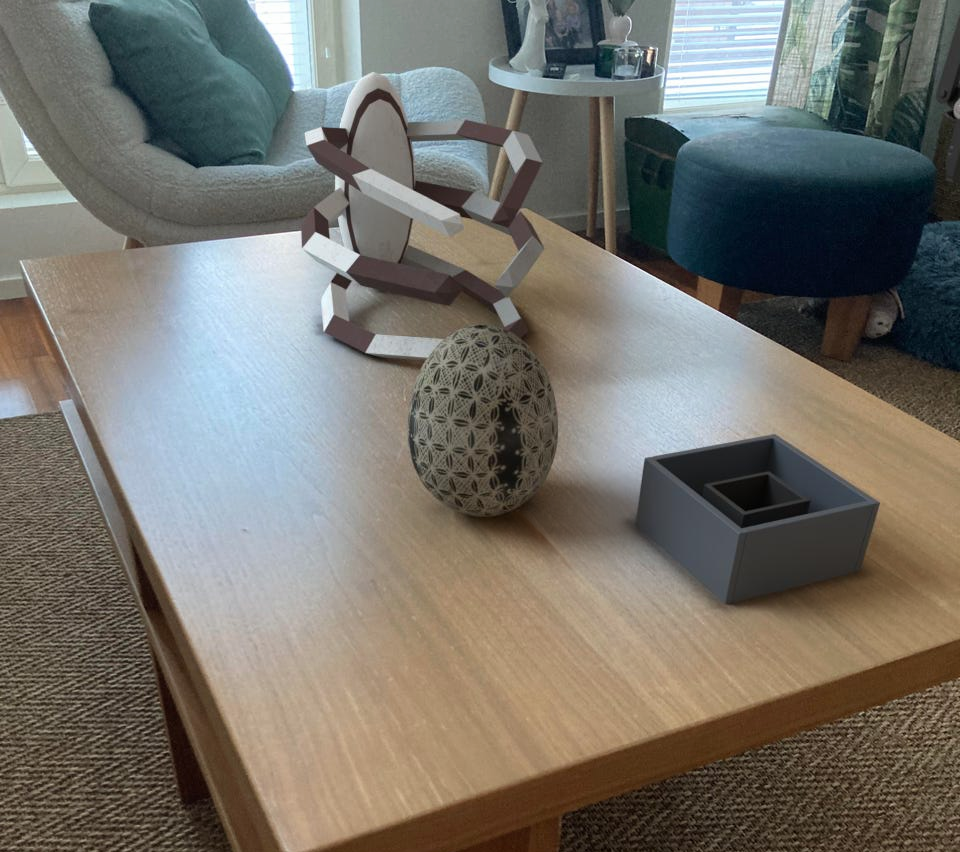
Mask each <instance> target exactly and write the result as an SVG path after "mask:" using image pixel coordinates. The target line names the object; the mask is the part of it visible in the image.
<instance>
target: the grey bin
mask: <svg viewBox="0 0 960 852" xmlns="http://www.w3.org/2000/svg"><path fill="white" fill-rule="evenodd" d="M767 471H769V472H771V473H772V474H774V475H775V476H777V477H778V478H779V479H781V480H782V481H784V482H785V483H787V484H788V485H790V486H791V487H792V488H794V489H795V490H797V491H798V492H800V493H801V494H803V495H804V496H805V497H807V498H808V499H810V500H811V502H810V506H809V510H808V514H805V515H801V516H796V517H792V518H787V519H782V520H778V521H773V522H769V523H764V524H760V525H755V526H751V527H746V528H740V527H739V526H738V525H737V524H735V523H734V522H733V521H731V520H730V519H729V518H728V517H726V516H725V515H724V514H723V513H721V512H720V511H719V510H718V509H716V508H715V507H714V506H713V505H711V504H710V503H709V502H707V501H706V500H705V499H704V498H702V494H703V488H704V484H709V483H713V482H718V481H723V480H728V479H733V478H738V477H743V476H748V475H753V474H758V473H762V472H767ZM880 505H881V502H880V501H879V500H878V499H875V498H874V497H872V496H871V495H869V494H868V493H866V492H865V491H864V490H862V489H860V488H858V487H857V486H855V485H854V484H853V483H851V482H849V481H848V480H846V479H845V478H844V477H842V476H840V475H839V474H837V473H836V472H834V471H833V470H831V469H829V468H828V467H826V465H824V464H822V463H820V462H819V461H817V460H816V459H814V458H812V456H810V455H808V454H807V453H805V452H803V451H802V450H800V449H799V448H798V447H796V446H795V445H793V444H791V443H790V442H788V441H786V440H785V439H783V437H780V436H779V435H777V434H776V433H772V434H767V435H762V436H757V437H751V438H745V439H740V440H734V441H731V442H730V441H729V442H723V443H719V444H713V445H708V446H701V447H695V448H692V449H691V448H690V449H686V450H681V451H674V452H670V453H669V452H668V453H663V454H658V455H653V456H647V457H644V460H643V467H642V474H641V482H640V489H639V497H638V504H637V511H636V517H635V525H636V526H637V527H638V528H639V529H640V530H641V531H643V533H645V534H646V535H647V536H648V537H649V539H651V540H653V541H654V542H655V543H656V544H657V546H659V547H660V548H661V549H662V550H663V551H665V552H666V553H667V554H668V555H669V556H670V557H671V558H672V559H674V560H675V561H676V562H677V563H678V564H679V565H680V566H681V567H682V568H684V569H685V571H686V572H688V573H689V574H690V575H691V576H693V577H694V578H695V579H696V580H697V581H698V582H699V583H700V584H701V585H702V586H703V587H704V588H706V589H707V590H708V591H709V592H710V593H711V594H712V595H713V596H715V598H717V599H718V600H719V601H720V602H721V603H723V604H724V605H730V604H733V603H736V602H737V603H738V602H742V601H745V600H749V599H753V598H754V599H755V598H756V597H757V598H758V597H761V596H764V595H769V594H773V593H777V592H781V591H785V590H789V589H794V588H798V587H802V586H805V585H810V584H814V583H818V582H821V581H825V580H829V579H833V578H839V577H841V576H846V575H849V574H853V573H857V572H860V571H861V569H862V566H863V563H864V559H865V556H866V553H867V550H868V546H869V543H870V539H871V535H872V532H873V528H874V526H875V523H876V519H877V515H878V512H879V510H880V509H879V508H880Z"/></svg>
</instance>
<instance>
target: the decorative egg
mask: <svg viewBox="0 0 960 852" xmlns="http://www.w3.org/2000/svg"><path fill="white" fill-rule="evenodd" d="M503 328H504V327H500V326H497V325H493V324H487V323H483V324H482V323H480V324H479V323H478V324H472V325H468V326H464V327H462V328H460V329H457V330H455V331H454V332H452V333H450V334H449V335H448V336H446V337H445V338H443V339H444V340H443V341H442V342H440V343H439V344H438V345H437V346H436V347H435V349H434V350H433V351H432V353H431V354H430V355H429V356H428V358H427V359H426V361H424V362H423V364H422V366H421V368H420V370H419V372H418V375H417V376H416V379H415V382H414V384H413V387H412V389H411V395H410V398H409V404H408V410H407V422H406V430H407V432H406V433H407V444H408V445H407V446H408V449H409V455H410V459H411V462H412V466H413V468H414V470H415V472H416V474H417V477H418V478H419V480H420V482H421V483H422V485H423V486H424V487H425V488H426V490H427V491H428V492H429V494H431V495H432V497H433V498H435V499H436V500H437V501H439V502H440V503H441V504H442V505H444V506H445V507H447V508H449V509H451V510H453V511H454V512H457V513H460V514H462V515H466V516H470V517H475V518H477V517H478V518H490V517H496V516H499V515H504V514H506V513H509V512H512V511H514V510H516V509H517V508H520V507H521V506H522V505H524V504H525V503H526V502H528V501H529V500H530V499H532V497H534V495H536V493H537V492H538V491H539V490H540V488H541V487H542V486H543V484H544V483H545V481H546V480H547V477H548V476H549V474H550V472H551V469H552V466H553V463H554V460H555V457H556V453H557V448H558V442H559V415H558V407H557V401H556V396H555V392H554V388H553V385H552V383H551V380H550V376H549V374H548V372H547V370H546V368H545V366H544V364H543V362H542V361H541V360H540V358H539V357H538V355H537V354H536V353H535V352H534V350H533V349H532V348H531V347H530V346H529V345H528V344H527V343H526V342H525V341H524V340H522V338H521V339H520V338H519V337H517V336H516V335H515V334H513V333H511V332H510V331H508V330H505V329H503Z"/></svg>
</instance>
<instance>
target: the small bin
mask: <svg viewBox="0 0 960 852" xmlns="http://www.w3.org/2000/svg"><path fill="white" fill-rule="evenodd" d="M702 498H704V499H705V500H706V501H707V502H709V503H710V504H711V505H713V506H714V507H715V508H716V509H718V510H719V511H720V512H721V513H723V514H724V515H725V516H726V517H728V518H729V519H730V520H731V521H733V522H734V523H735V524H737V525H738V526H739V527H740V528H746V527H751V526H755V525H760V524H764V523H769V522H773V521H778V520H782V519H787V518H792V517H796V516H801V515H805V514H808V510H809V506H810V502H811V500H810V499H808V498H807V497H805V496H804V495H803V494H801V493H800V492H798V491H797V490H795V489H794V488H792V487H791V486H790V485H788V484H787V483H785V482H784V481H782V480H781V479H779V478H778V477H777V476H775V475H774V474H772V473H771V472H769V471H767V472H762V473H758V474H753V475H748V476H743V477H738V478H733V479H728V480H723V481H718V482H713V483H709V484H704V488H703V494H702Z"/></svg>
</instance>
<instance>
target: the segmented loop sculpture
mask: <svg viewBox="0 0 960 852" xmlns="http://www.w3.org/2000/svg"><path fill="white" fill-rule="evenodd" d="M304 138H305V145H306V148H307V149H308V151H309V153H310V154H311V155H312V157H313V159H314V160H315V162H316V164H318V165H319V166H321V167H322V168H324V169H325V170H327V171H328V172H330V173H331V174H333V175H334V191H333V192H331V194H329V195H327V196H326V197H325V198H323V199H322V200H321V201H320V202H318V203H317V204H316V205H315V206H313V207H312V209H311V210H310V211H309V213H307V215H306V216H305V217H304V219H303V220H302V221H301V222H300V233H301V234H300V235H301V249H302V250H303V251H304V252H305V253H306V254H307V255H308V256H309V257H311V258H312V259H313V260H314V261H315V262H317V263H318V264H320V265H321V266H323V267H326V268H328V270H331V271H333V272H335V275H334V276H333V277H332V279H331V280H330V282H329V284H328V285H327V288H326V289H325V291H324V293H323V295H322V296H321V298H320V302H321V304H320V305H321V315H322V316H321V317H322V328H323V333H324V334H326V335H329V336H330V337H333V338H334V339H336V340H338V341H340V342H343V343H344V344H347V345H348V346H351V347H352V348H354V349H356V350H358V351H360V352H363V353H365V354H368V355H372V356H376V357H379V358H386V359H397V360H398V359H399V360H410V361H420V362H421V361H422V362H423V361H424V362H425V361H426V359H427V358H428V356H429V355H430V354H431V353H432V351H433V350H434V349H435V347H436V346H437V345H438V344H439V343H440V342H442V341H443V340H444V339H445V338H437V337H422V336H421V337H420V336H408V335H407V336H405V335H392V334H379V333H374V332H372V331H370V330H367V329H366V328H364V327H361V326H360V325H357V324H356V323H353V322H351V321H350V315H349V307H348V300H347V299H348V298H347V292H346V291H347V290H348V288H349V286H350V285H351V283H355V284H357V285H359V286H361V287H364V288H369V289H373V290H378V291H382V292H387V293H390V294H395V295H399V296H403V297H408V298H412V299H415V300H416V299H417V300H421V301H425V302H430V303H432V304H433V303H434V304H438V305H441V306H442V305H443V306H447V307H450V306H451V305H452V304H453V302H454V301H455V300H456V299H457V298H458V296H459V295H460V294H461V293H463V294H465V295H466V296H468V297H470V298H471V299H473V301H475V302H478V303H479V304H481V305H482V306H484V307H485V308H487V309H488V310H490V311H492V312H493V313H494V314H497V315H498V317H499V319H500V321H501V323H502V324H503V327H502V328H503V329H505V330H508V331H510V332H511V333H513V334H515V335H516V336H517V337H519V338H520V339H521V340H522V338H523V337H524V335H526V334H527V333H528V331H529V330H528V328H527V326H526V325H525V323H524V321H523V319H522V317H521V316H520V313H519V312H518V310H517V308H516V307H515V305H514V303H513V301H512V299H511V298H510V296H511V295H512V294H513V292H514V291H515V290H516V289H517V287H518V286H520V284H521V283H522V282H523V280H524V279H525V278H526V276H527V275H528V273H529V272H530V270H531V269H532V268H533V266H534V265H535V263H536V262H537V261H538V260H539V257H540V256H541V255H542V254H543V252H544V250H545V249H546V248H545V247H544V245H543V242H542V241H541V239H540V237H539V235H538V233H537V232H536V229H535V228H534V225H533V223H531V221H530V220H529V219H528V218H527V217H526V216H525V214H524V213H523V212H522V211H521V207H522V205H523V203H524V202H525V200H526V198H527V195H528V193H529V191H530V190H531V187H532V185H533V183H534V181H535V179H536V177H537V175H538V173H539V171H540V169H541V167H542V165H543V160H542V159H541V156H540V154H539V152H538V151H537V148H536V146H535V145H534V143H533V141H532V139H531V137H530V135H529V134H527V133H524V132H520V131H517V130H513V129H508V128H504V127H498V126H496V125H491V124H486V123H482V122H477V121H474V120H468V119H451V120H430V121H427V120H426V121H409V119H408V116H407V112H406V111H405V107H404V104H403V102H402V100H401V96H400V94H399V93H398V91H397V90H396V88H395V87H394V86H393V84H392V83H391V81H390V80H389V78H388V77H387V76H386V75H383V74H380V73H378V72H376V71H373V72H372V71H371V72H369V73H367V74H365V75H364V76H362V77H360V78H359V79H358V81H357V82H356V83H355V85H354V87H353V88H352V90H351V92H350V93H349V95H348V96H347V100H346V103H345V106H344V109H343V113H342V116H341V119H340V123H339V127H329V126H319V127H316V128H314V129H311V130H308V131H305V132H304ZM442 141H443V142H445V141H476V142H479V143H484V144H488V145H491V146H495V147H499V148H503V149H504V151H505V153H506V156H507V158H508V160H509V163H510V164H511V166H512V169H513V171H514V173H515V174H514V176H513V178H512V180H511V181H510V184H509V186H508V188H507V190H506V191H505V194H504V195H503V198H502V199H501V202H500V201H497V200H495V199H493V198H490V197H487V196H484V194H480V193H478V192H475V191H473V190H472V191H471V190H466V189H463V188H462V189H461V188H456V187H452V186H446V185H441V184H436V183H430V182H424V181H420V180H416V165H415V151H414V145H413V143H417V142H418V143H420V142H442ZM462 218H465V219H469V220H473V221H475V222H478V223H481V224H483V225H485V226H487V227H489V228H492V229H494V230H497V231H498V232H501V233H503V234H505V235H508V236H510V237H511V239H512V241H513V243H514V245H515V247H516V249H517V251H518V252H517V254H516V255H515V256H514V257H513V259H512V260H511V261H510V263H509V264H508V265H507V266H506V268H505V269H504V271H503V272H502V274H500V276H499V277H498V279H497V280H496V281H495V283H494V284H493V285H491V284H489V283H488V282H487V281H485V280H483V279H482V278H481V277H478V276H477V275H475V274H474V273H472V272H470V271H468V270H467V269H465V268H463V267H460V266H459V265H456V264H453V263H452V262H449V261H446V260H445V259H442V258H440V257H437V256H435V255H433V254H431V253H428V252H426V251H424V250H421V249H419V248H417V247H415V246H412V245H410V240H411V233H412V228H413V225H414V224H413V223H414V220H415V221H416V222H418V223H420V224H422V225H424V226H426V227H428V228H430V229H432V230H434V231H436V232H438V233H439V234H442V235H444V236H445V237H447V238H450V239H452V238H454V237H455V236H456V235H458V234H460V233H461V232H463V231H464V230H466V227H465V225H464V222H463V219H462ZM336 220H337V221H338V222H337V223H338V226H339V231H340V234H341V239H342V244H343V245H341V244H340V243H338V242H336V241H334V240H332V239H331V237H330V225H331V224H333V222H335V221H336Z"/></svg>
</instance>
